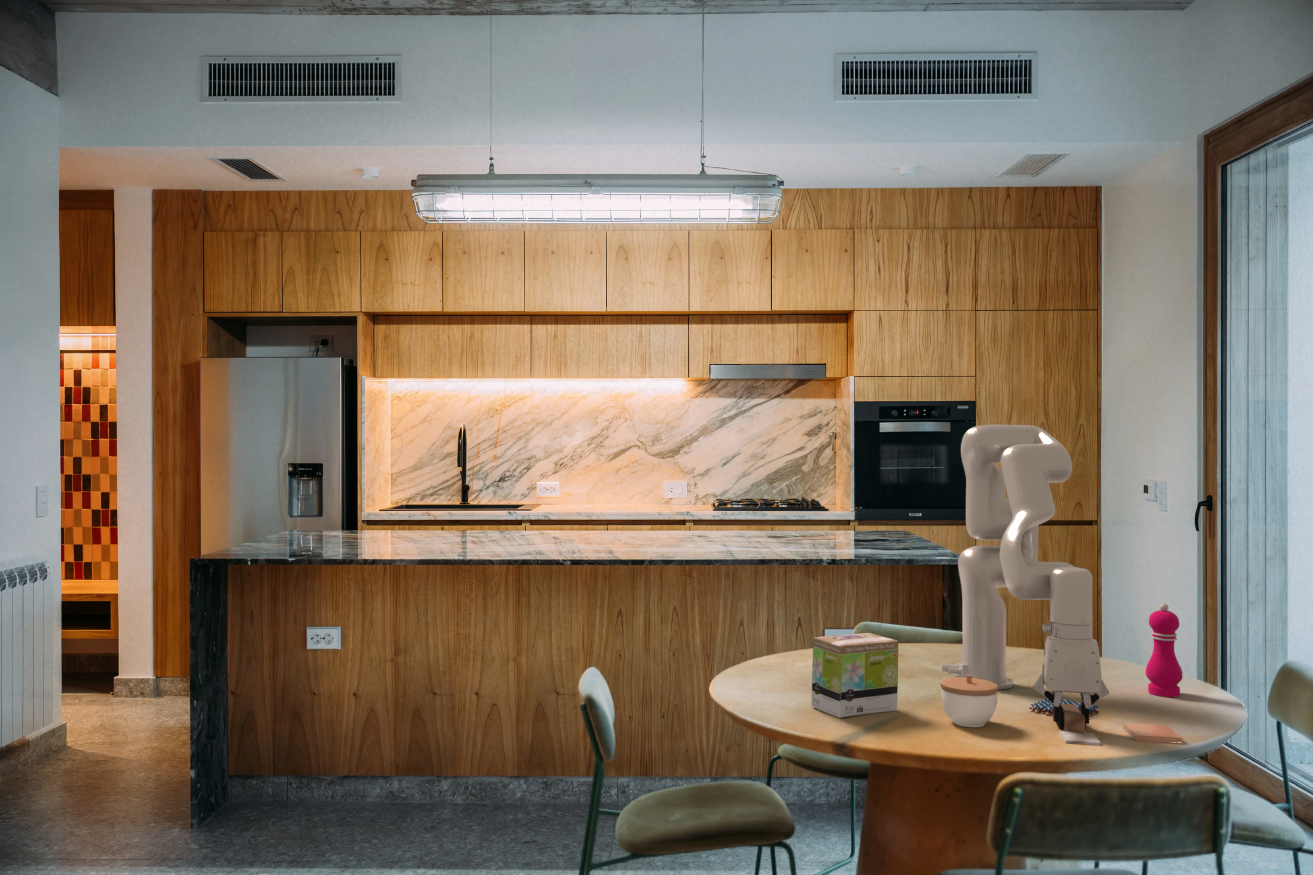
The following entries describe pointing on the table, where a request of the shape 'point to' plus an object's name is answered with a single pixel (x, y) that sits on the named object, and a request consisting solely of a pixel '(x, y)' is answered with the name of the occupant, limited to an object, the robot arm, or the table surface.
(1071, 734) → the turner
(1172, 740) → the tile
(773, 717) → the table surface
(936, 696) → the table surface
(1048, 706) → the woven mat
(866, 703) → the tea box
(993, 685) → the lidded jar
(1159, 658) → the pepper mill
